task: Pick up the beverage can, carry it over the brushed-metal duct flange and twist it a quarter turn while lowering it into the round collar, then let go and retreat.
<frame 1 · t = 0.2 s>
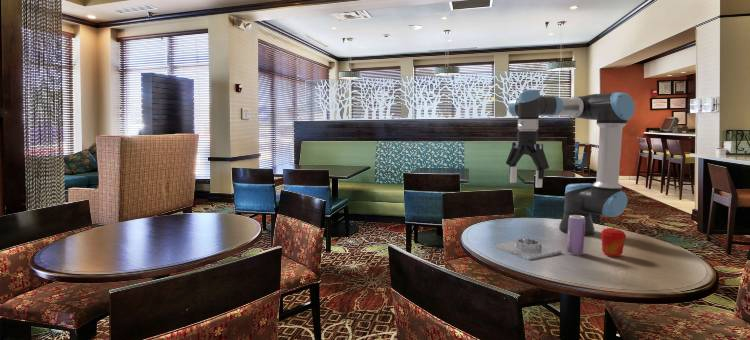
hand: (525, 184, 161), 27 cm above the table, fingers open, 13 cm apart
duct flange: (527, 250, 168), on the table
beverage can: (574, 253, 164), on the table
apple: (611, 255, 162), on the table
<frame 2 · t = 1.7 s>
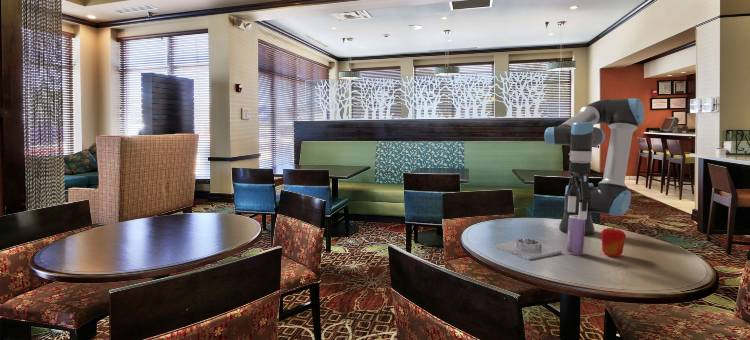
hand: (576, 215, 162), 15 cm above the table, fingers open, 13 cm apart
nothing on the table moved.
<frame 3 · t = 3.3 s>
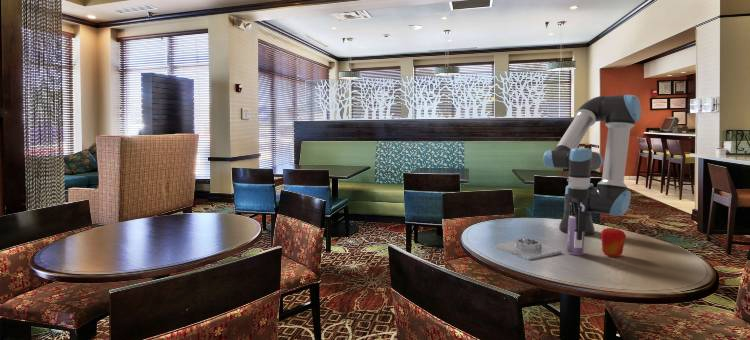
hand: (575, 244, 164), 3 cm above the table, fingers closed on beverage can, 6 cm apart
beverage can: (574, 253, 164), on the table, touching gripper
everything else where it was.
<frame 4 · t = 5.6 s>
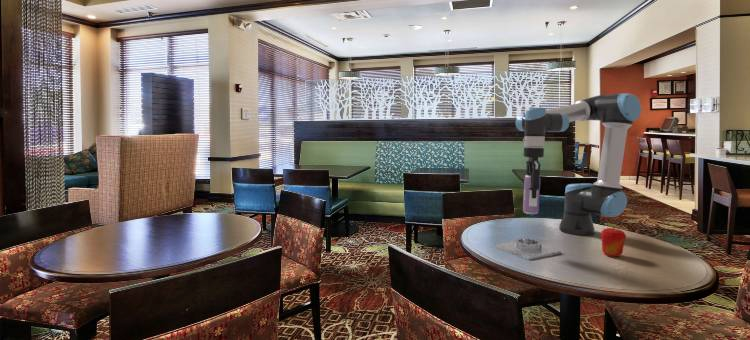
hand: (531, 204, 166), 19 cm above the table, fingers closed on beverage can, 6 cm apart
beverage can: (530, 213, 166), point 15 cm above the table, touching gripper
everything else where it was.
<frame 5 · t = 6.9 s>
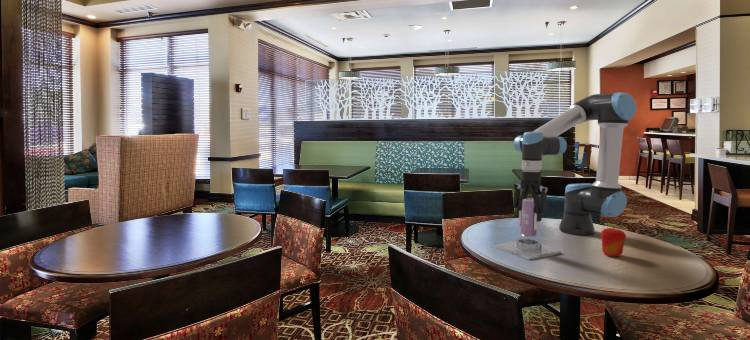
hand: (528, 227, 167), 10 cm above the table, fingers closed on beverage can, 6 cm apart
beverage can: (528, 235, 167), point 6 cm above the table, touching gripper
everything else where it was.
when the fingers open (6 cm above the table, at t = 7.9 s): beverage can drops 1 cm, resting on duct flange.
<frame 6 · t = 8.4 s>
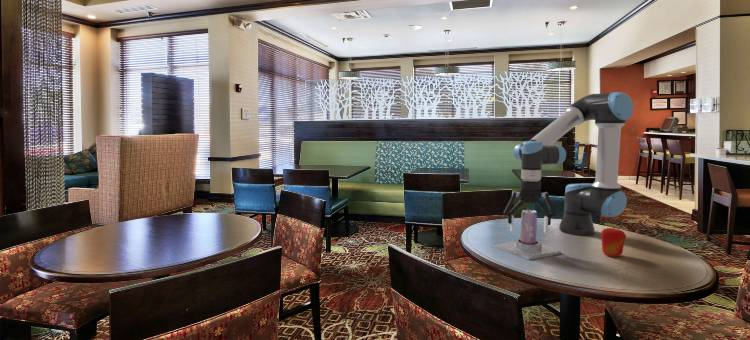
hand: (528, 232, 167), 8 cm above the table, fingers open, 12 cm apart
beverage can: (527, 247, 168), point 1 cm above the table, touching duct flange
everything else where it was.
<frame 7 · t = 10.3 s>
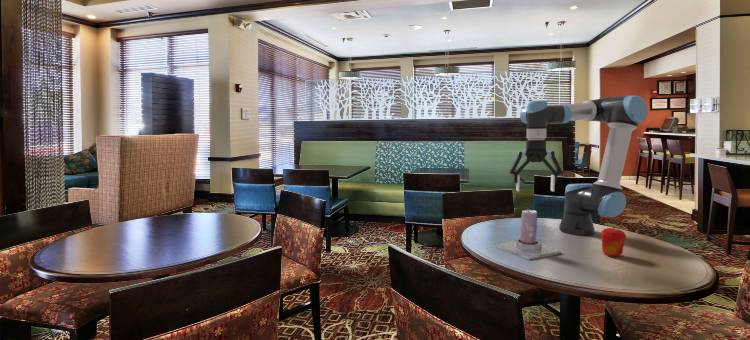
hand: (535, 191, 169), 24 cm above the table, fingers open, 13 cm apart
nothing on the table moved.
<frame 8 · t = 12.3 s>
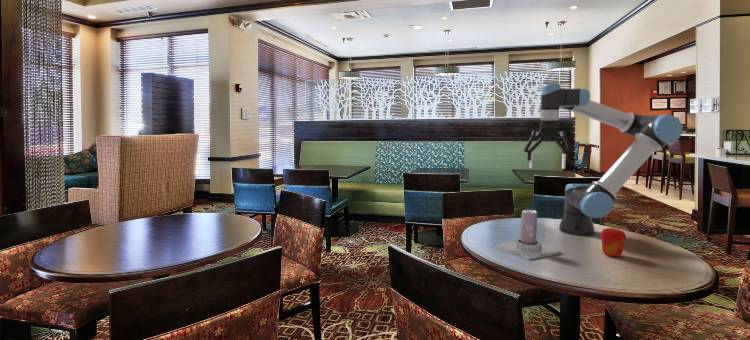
hand: (547, 168, 182), 32 cm above the table, fingers open, 13 cm apart
nothing on the table moved.
at the end: beverage can 0.0 cm off-centre on the duct flange, point 1.0 cm above the duct flange's base; beverage can tilted 0°; the gripper is holding nothing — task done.
